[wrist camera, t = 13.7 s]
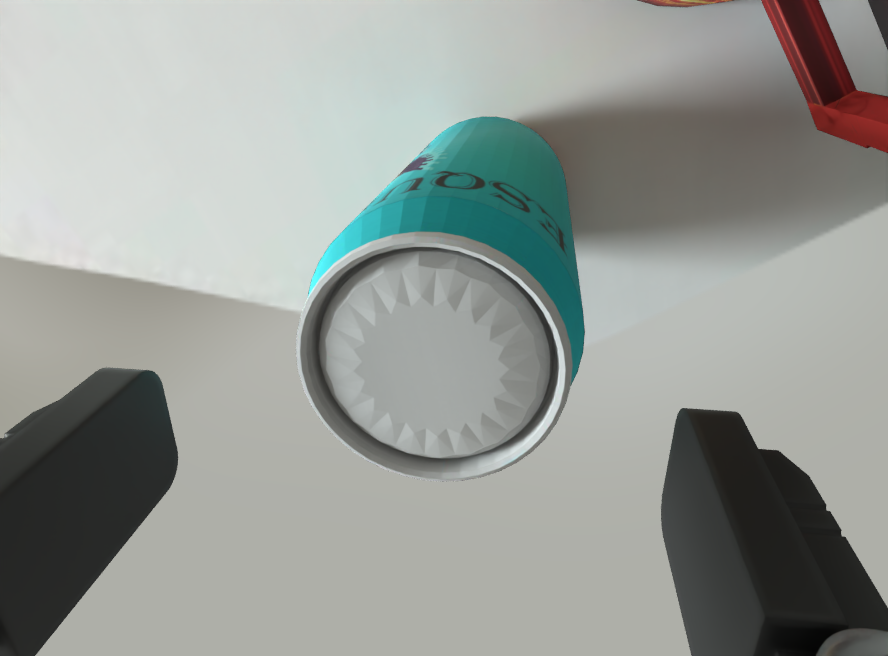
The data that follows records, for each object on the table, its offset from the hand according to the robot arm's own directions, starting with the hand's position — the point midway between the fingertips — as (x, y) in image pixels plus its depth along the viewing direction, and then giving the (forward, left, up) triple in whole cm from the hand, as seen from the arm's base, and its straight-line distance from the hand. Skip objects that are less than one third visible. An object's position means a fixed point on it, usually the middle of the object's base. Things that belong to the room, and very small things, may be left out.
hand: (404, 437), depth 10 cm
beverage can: (0, 0, -17) cm, 17 cm away
